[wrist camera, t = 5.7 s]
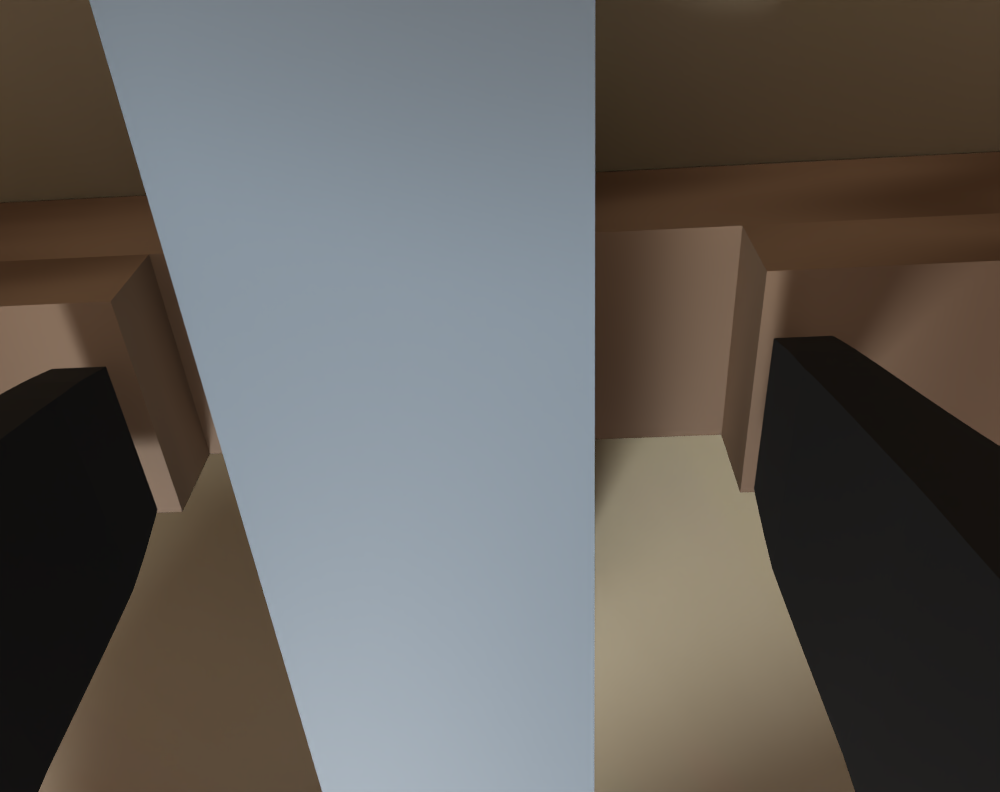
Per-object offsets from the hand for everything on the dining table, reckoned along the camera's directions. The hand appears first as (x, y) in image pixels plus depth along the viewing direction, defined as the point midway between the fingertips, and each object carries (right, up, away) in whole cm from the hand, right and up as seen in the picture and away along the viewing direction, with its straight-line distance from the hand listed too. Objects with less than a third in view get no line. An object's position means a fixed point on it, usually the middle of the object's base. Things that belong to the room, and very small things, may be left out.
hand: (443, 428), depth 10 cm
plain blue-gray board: (0, +2, +3) cm, 4 cm away
